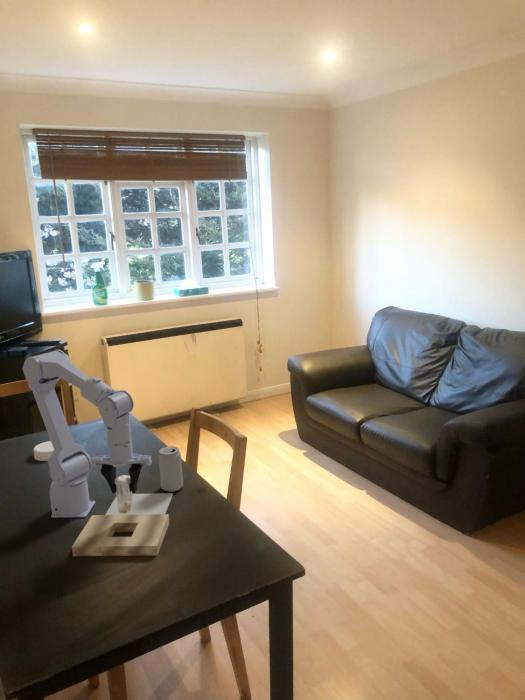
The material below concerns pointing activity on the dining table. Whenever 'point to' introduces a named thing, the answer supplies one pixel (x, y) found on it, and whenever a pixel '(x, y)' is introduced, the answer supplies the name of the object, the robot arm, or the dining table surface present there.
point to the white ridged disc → (43, 451)
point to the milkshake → (123, 493)
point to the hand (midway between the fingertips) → (124, 491)
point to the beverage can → (170, 469)
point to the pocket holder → (142, 542)
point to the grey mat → (144, 504)
